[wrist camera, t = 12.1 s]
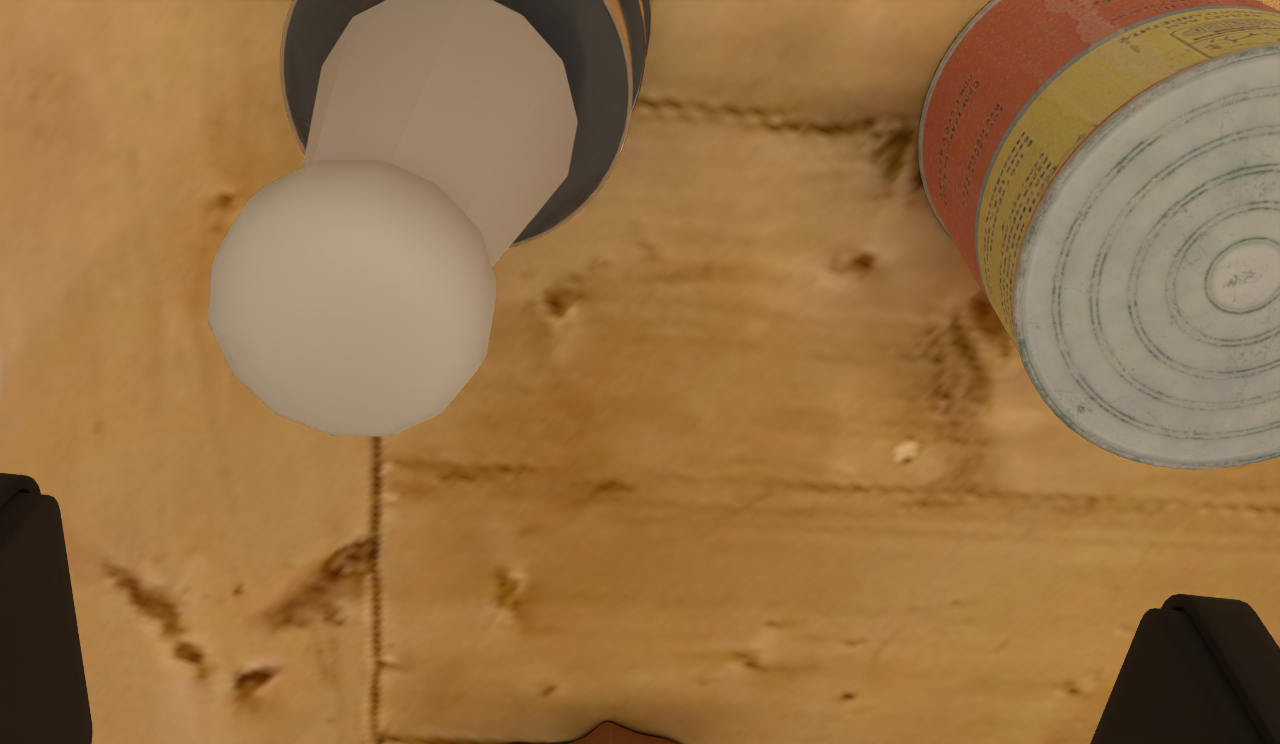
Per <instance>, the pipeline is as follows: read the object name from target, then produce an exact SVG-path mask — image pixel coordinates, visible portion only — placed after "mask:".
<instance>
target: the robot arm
mask: <svg viewBox="0 0 1280 744" xmlns="http://www.w3.org/2000/svg"><path fill="white" fill-rule="evenodd" d="M91 743H92V721H91V714H90V707H89V701H88V694H87V687H86V681H85V674H84V667H83V660H82V654H81V647H80V640H79V634H78V627H77V620H76V614H75V607H74V600H73V594H72V587H71V580H70V574H69V567H68V560H67V554H66V547H65V540H64V533H63V527H62V520H61V513H60V509H59V505H58V502H57V501H56V499H55V498H54V497H52V496H50V495H41V493H40V489H39V486H38V484H37V483H36V481H35V480H34V479H33V478H31V477H29V476H26V475H16V474H6V473H0V744H91ZM1091 744H1280V648H1279V647H1278V645H1277V644H1276V642H1275V641H1274V639H1273V638H1272V636H1271V635H1270V633H1269V632H1268V630H1267V629H1266V627H1265V626H1264V624H1263V623H1262V621H1261V620H1260V618H1259V617H1258V615H1257V614H1256V612H1255V611H1254V610H1253V609H1252V608H1251V607H1250V606H1249V605H1248V604H1247V603H1245V602H1243V601H1240V600H1234V599H1224V598H1214V597H1204V596H1195V595H1185V594H1177V595H1172V596H1171V597H1170V598H1168V599H1167V600H1166V601H1165V602H1164V604H1163V606H1162V608H1161V609H1157V608H1154V609H1149V610H1148V611H1147V612H1146V613H1145V614H1144V616H1143V618H1142V619H1141V621H1140V624H1139V626H1138V628H1137V631H1136V633H1135V636H1134V638H1133V641H1132V643H1131V646H1130V648H1129V651H1128V653H1127V655H1126V658H1125V660H1124V663H1123V665H1122V668H1121V670H1120V673H1119V675H1118V678H1117V680H1116V682H1115V685H1114V687H1113V690H1112V692H1111V695H1110V697H1109V700H1108V702H1107V704H1106V707H1105V709H1104V712H1103V714H1102V717H1101V719H1100V722H1099V724H1098V727H1097V729H1096V731H1095V734H1094V736H1093V739H1092V741H1091Z"/></svg>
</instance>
